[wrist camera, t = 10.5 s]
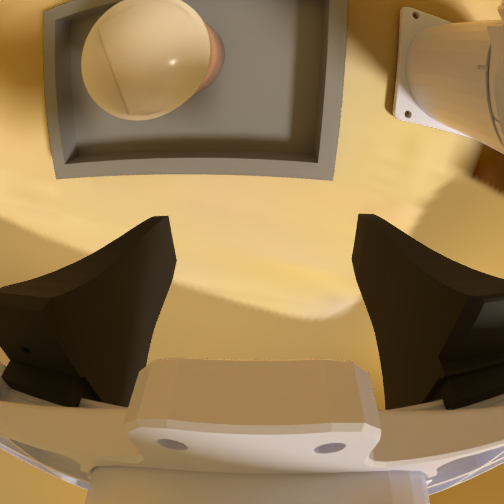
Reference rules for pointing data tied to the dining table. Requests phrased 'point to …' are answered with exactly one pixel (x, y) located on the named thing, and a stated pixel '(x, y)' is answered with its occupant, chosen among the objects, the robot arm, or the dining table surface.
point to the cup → (149, 58)
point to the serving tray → (210, 97)
